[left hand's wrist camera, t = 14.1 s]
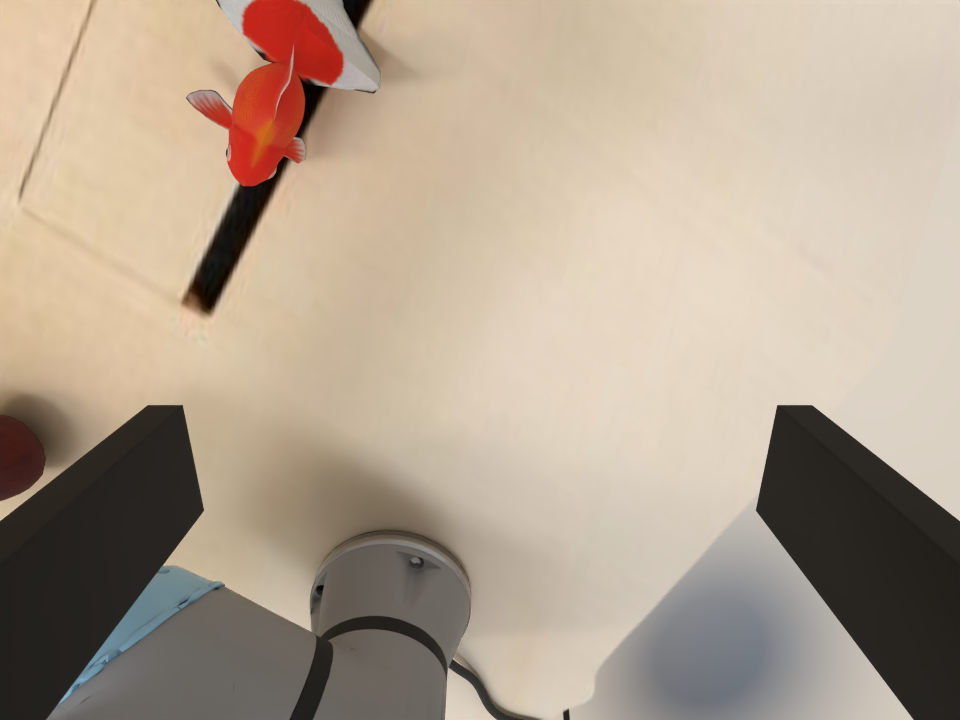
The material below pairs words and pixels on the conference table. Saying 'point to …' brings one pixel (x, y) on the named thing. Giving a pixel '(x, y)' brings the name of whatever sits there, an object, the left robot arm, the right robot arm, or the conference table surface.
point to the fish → (284, 78)
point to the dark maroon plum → (18, 457)
